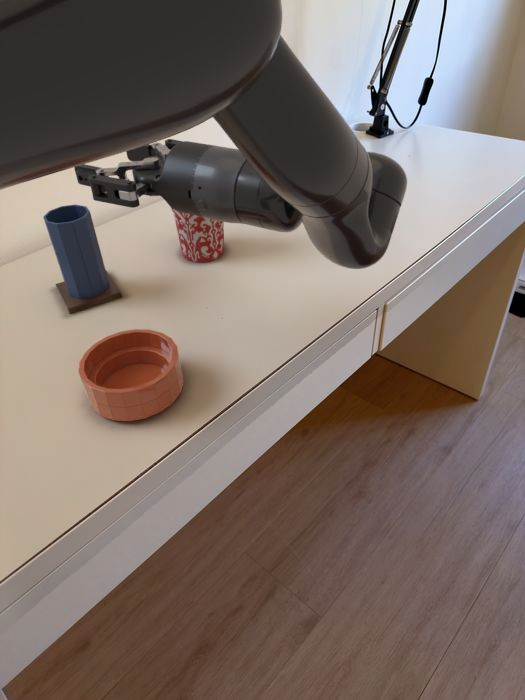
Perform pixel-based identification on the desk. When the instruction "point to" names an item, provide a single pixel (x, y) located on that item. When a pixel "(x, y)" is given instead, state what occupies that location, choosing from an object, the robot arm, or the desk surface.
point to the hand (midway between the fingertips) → (104, 161)
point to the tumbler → (77, 250)
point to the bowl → (132, 374)
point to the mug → (199, 237)
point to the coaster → (81, 304)
